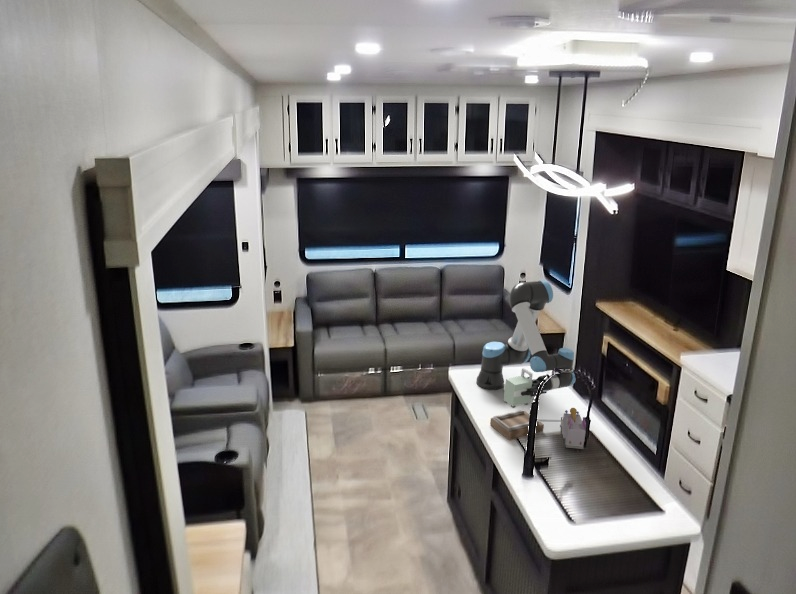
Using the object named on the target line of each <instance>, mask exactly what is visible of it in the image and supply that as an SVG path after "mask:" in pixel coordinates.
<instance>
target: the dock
mask: <svg viewBox="0 0 796 594" xmlns="http://www.w3.org/2000/svg"><path fill="white" fill-rule="evenodd" d="M529 414H530V413H529V412H527V411H526V410H525V409H520V410H519V409H518V410H515V411H511V412H507V413H504V414H498V415H495V416H493V417H491V418H490V420H489V421H490V422H489V425H490V426H491V427H492V428H493V429H495V430H496V431H497V432H498V433H500V434H501V435H502V436H504V438H506V439H507V440H509V441H513V440H517V439H520V438H525V437H528V436H527V434H528V426H529ZM544 427H545V424H544V423H543V422H541V421H539V420H538V419H537V426H536V434H540V433H543V432H544Z"/></svg>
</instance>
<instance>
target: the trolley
mask: <svg viewBox="0 0 796 594" xmlns="http://www.w3.org/2000/svg"><path fill="white" fill-rule="evenodd" d="M520 373H521V374H520V375H519V376H513V377H508V378H506V379H505V382H504V384H505V390H504V392H503V401H504V403H505V404H509V405H510V407H511V408H512V409H515V408H517V407H516V406H520V405H525V406H527V405H529V404H530V402H531V401H530V400H531V396H530V395H524V396H518V397H514V392H515V391H518V390H523V389H527V388H528V389H529V388H532V380H533V375H534V374H533V373H532V372H531V371H529V370H528V369H526V368H525V367H524V368H523V367H522V368H521V372H520ZM525 374H527V375H528V377H529V379H527V377H526V376H525Z"/></svg>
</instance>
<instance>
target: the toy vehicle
mask: <svg viewBox="0 0 796 594" xmlns="http://www.w3.org/2000/svg"><path fill="white" fill-rule="evenodd" d="M568 412H570V413H568ZM579 413H580V412H579V411H577V409H576V408H575V407H571V408H570V409H569V411H568V410H567V409H565V411H564V413H563V416H562V417H560V424H559V428H560V434H561V435H562V437H563V445H564V447H565V448H569V449H579V450H584V443H585V442H586V439H585V437H586V432H587V430H586V429H587V423H586V419H585V416H583V417H582V418H581V414H579Z"/></svg>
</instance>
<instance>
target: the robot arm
mask: <svg viewBox="0 0 796 594" xmlns="http://www.w3.org/2000/svg"><path fill="white" fill-rule="evenodd" d="M553 290H554V289H553V288H552V285H551V284H550V283H549V282H548V281H546V280H536V281H534V280H533V281H521V282H518V283H516V284H514V286H513V287H512V288H511V290H510V293H509V297H508V298H509V306H510V309H511V312H513V313H515V316H516V319H517V323H516V325H515V326H516V327H515V328H514V330H513V331H514V332H513V334H512V336H511V337H510V338H508V340H507V343H505V344H504V343H503V342H500V341H490V342H487V343H485V345H483V349H482V356H481V363H480V364H481V365H480V371H479V373H478V375H477V377H476V384H477V385H478V386H479V387H481V388H483V389H486V390H495V391H496V390H500V389H502V388H503V390H504V391H505V380H504V375H503V367H506V366H514V365H522V364H525V363H527V362H528V361H529V364H530V365H529V366H530V369H531V371H533V372H535V373H544V372H549V371H554V370H553V369H554V368H558V369H572V370H573V364H574V360H575V359H574V358H575V352H574V350H572V348H571V349H570V348H567V347H561V348H559V349H558V352H557V353H553V354H549V353H548V351H547V348H546V346H545V343H544V340H543V338H542V336H541V333H540V330H539V328H538V326H537V324H536V321H537V318H538V316H539V313H540V312H541V311H542V310H544V308H545V306H546V304H549V303H551V302H552V301H553V299H554V291H553ZM530 357H531V358H530ZM547 375H548V374H545V375H540V376H538V377H537V378H536V379H535V378H534V379H533V378H532V388H529V389H528V388H527V389H523V390H518V391H515V392H514V397H518V396H524V395H530V398H533V397H536V396H537V395H536V393H537V390H538V387H539V385H540V383H541V382H542V381H543V379H544V378H545V377H546V376H547ZM526 378H527V379H529V376H527V377H526ZM576 379H577V378H576V374H575V373H574V372H573V373H560V374H555V375H554V376H552V377H551V378H550V379H549V380H548V381H547V382H546V383H545V384H544V386H543V388H542V390H541V393H540V395H541V394H547V392H548V391H552V390H557V389H561V388H567V387H570V386H572V385H574V384H575V383H576Z"/></svg>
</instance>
